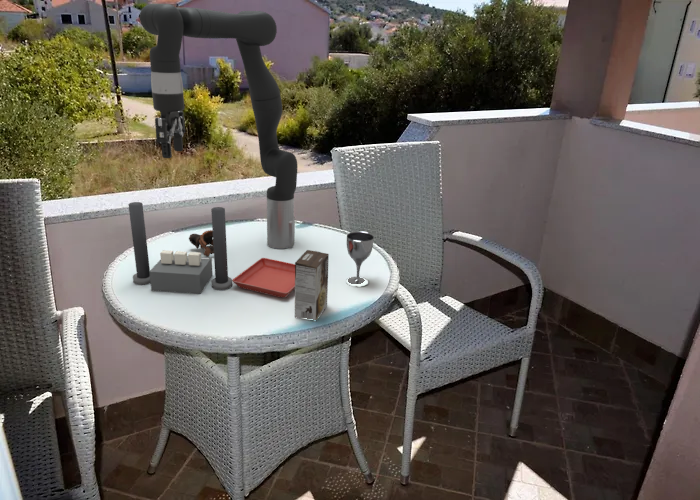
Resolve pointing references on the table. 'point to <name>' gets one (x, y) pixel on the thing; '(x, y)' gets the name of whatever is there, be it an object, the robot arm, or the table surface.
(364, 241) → the wine glass
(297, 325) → the table surface
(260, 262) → the plant saucer
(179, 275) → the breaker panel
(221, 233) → the post
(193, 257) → the paddles
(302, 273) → the coffee box
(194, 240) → the brown curved piece
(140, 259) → the post
